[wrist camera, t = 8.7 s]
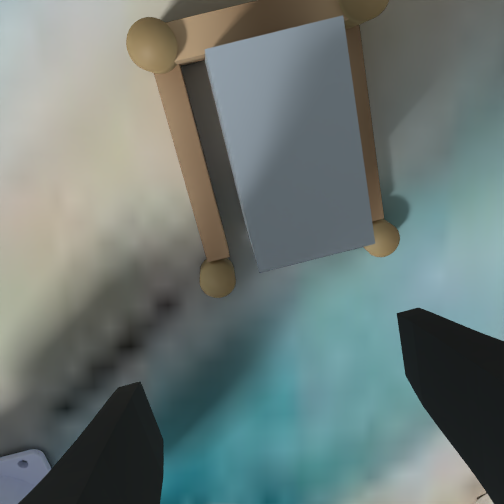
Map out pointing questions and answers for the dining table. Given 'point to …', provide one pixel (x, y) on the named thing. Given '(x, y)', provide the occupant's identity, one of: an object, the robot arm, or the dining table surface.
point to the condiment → (485, 500)
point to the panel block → (293, 142)
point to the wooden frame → (184, 126)
